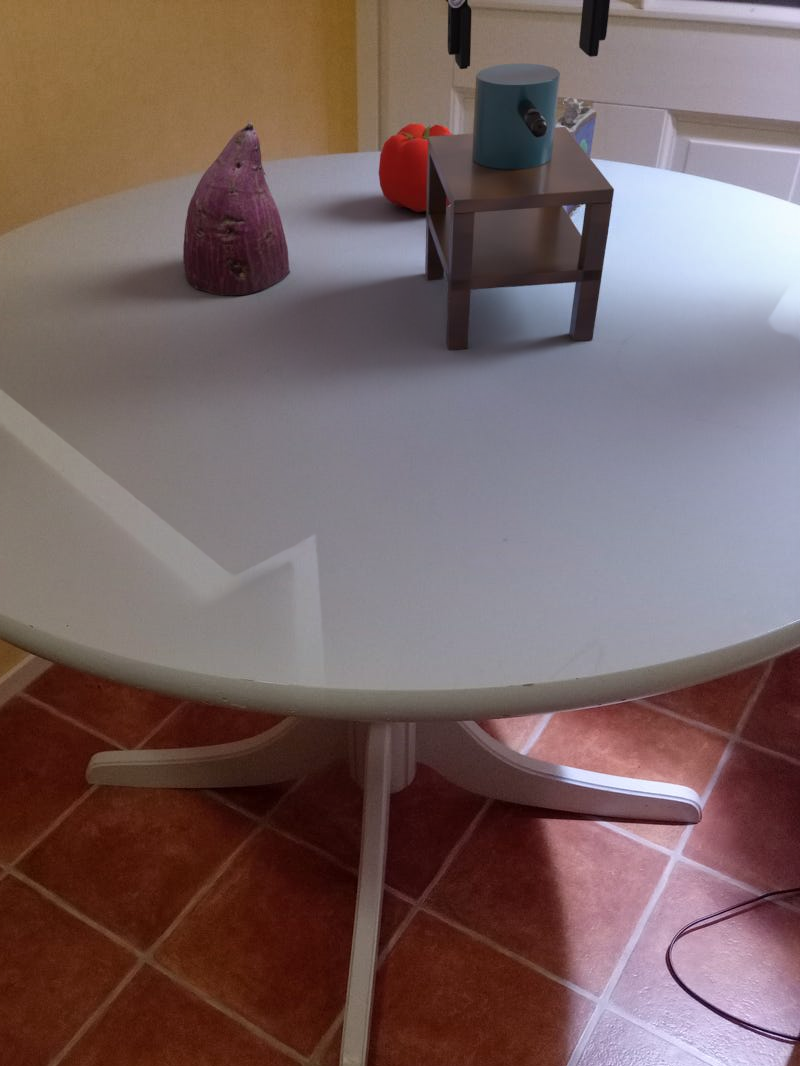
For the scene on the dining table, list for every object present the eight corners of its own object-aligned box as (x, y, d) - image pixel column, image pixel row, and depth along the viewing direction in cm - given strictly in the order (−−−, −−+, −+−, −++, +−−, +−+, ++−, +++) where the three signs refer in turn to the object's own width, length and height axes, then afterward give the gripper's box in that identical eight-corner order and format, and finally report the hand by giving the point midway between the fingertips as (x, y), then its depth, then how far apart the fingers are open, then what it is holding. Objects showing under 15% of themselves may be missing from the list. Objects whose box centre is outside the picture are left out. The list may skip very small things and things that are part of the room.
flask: (561, 229, 99) (574, 112, 91) (533, 225, 100) (544, 110, 93) (588, 199, 104) (602, 87, 97) (562, 196, 106) (574, 85, 98)
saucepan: (542, 142, 82) (550, 60, 78) (578, 193, 72) (588, 103, 68) (466, 147, 82) (470, 66, 78) (492, 199, 73) (497, 110, 68)
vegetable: (297, 288, 99) (331, 130, 90) (263, 319, 91) (297, 149, 82) (202, 255, 100) (226, 95, 91) (161, 283, 92) (182, 111, 83)
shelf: (551, 263, 93) (565, 126, 84) (592, 340, 81) (614, 188, 73) (425, 272, 93) (427, 136, 84) (448, 350, 81) (454, 200, 73)
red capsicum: (420, 227, 101) (421, 149, 96) (363, 206, 106) (362, 132, 101) (483, 203, 105) (487, 127, 100) (426, 184, 110) (427, 111, 105)
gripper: (416, -228, 60) (418, 82, 72) (696, -256, 60) (652, 59, 72) (403, -230, 66) (407, 58, 77) (659, -256, 65) (624, 37, 77)
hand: (525, 58), depth 74 cm, fingers open, 9 cm apart
